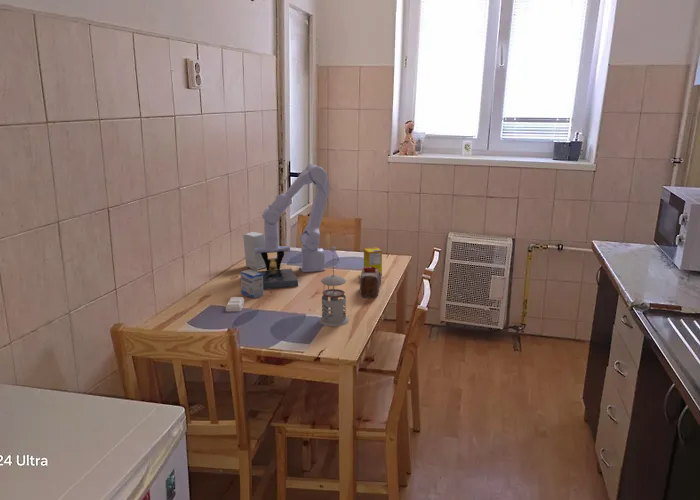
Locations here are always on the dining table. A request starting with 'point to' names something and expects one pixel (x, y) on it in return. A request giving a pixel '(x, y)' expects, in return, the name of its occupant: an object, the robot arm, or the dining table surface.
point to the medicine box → (252, 283)
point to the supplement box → (373, 258)
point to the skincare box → (251, 243)
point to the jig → (278, 278)
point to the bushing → (273, 264)
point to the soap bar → (235, 304)
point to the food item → (370, 282)
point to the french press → (333, 301)
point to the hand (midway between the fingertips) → (273, 269)
